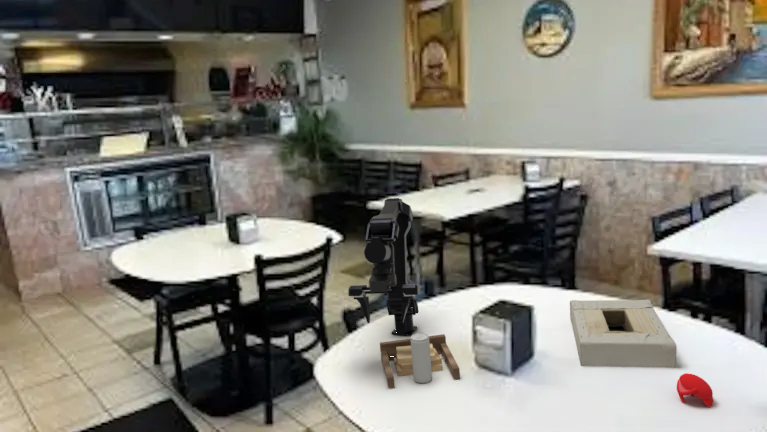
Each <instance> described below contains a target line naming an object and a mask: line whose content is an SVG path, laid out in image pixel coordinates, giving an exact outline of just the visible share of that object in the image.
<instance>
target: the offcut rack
mask: <svg viewBox="0 0 767 432" xmlns="http://www.w3.org/2000/svg"><path fill="white" fill-rule="evenodd" d="M428 337H429V343H430V344H432V345H433V348H435V350H436V351H437V353H438V354H439V355H441V356H442V359H443V360H444V362H445V364H446V366H447V369H448V370H449V372H450V375H451V376H452V379H453V380H454V381H455V380H460V379H461V372H460V367H459V365H458V363H457V361H456V359H455V357H454V355H453V353H452V352H451V350H450V348H449V346H448V344H447V341H446V334H444V333H443V334H436V335H428ZM410 340H411V338H404V339H397V340H389V341H383V342H379V349H380V359H381V364H382V368H383V372H384V375H385V380H386V384H387V388H388V389H395V388H396V387H395V386H396V384H395V377H394V373H393V369H392V366H391V363H390V361H394V358H396V354H397V351H396V347H400V346H411V341H410ZM390 356H394V357H390Z"/></svg>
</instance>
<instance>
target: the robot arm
mask: <svg viewBox="0 0 767 432" xmlns="http://www.w3.org/2000/svg"><path fill="white" fill-rule="evenodd" d="M413 218H414V217H413V210H412V208H411V205H410V204H408V203H406V202H404V201H403V199H402V198H399V197H393V198H386V199H384V203H383V207H382V208H381V211H380V213H379V214H378V215H374V216H373V217H371V219H370V220H369V222H368V223H367V227H366V234H365V243H368V244H367V245H366V246H365V248H364V251H363V254H364V258H365V259H366V261H368V262H369V263H371V264H373V265H372V274H371V276H370V277H369V279H368V281H369V282H368V284H369V286H367V285H366V284H357V285H355V284H354V285H350V286H349V287H348V293H347V294H348V297H353V300H357V302H358V304H359V305H360V307H361V308H362V311H363V314H364V317H365V320H366V322H367V324H370V323H371V311H370V298H369V296H367V295H369V294H371V295H373V294H375V295H376V294H378V295H379V294H387V295H388V296H387V297H386V307H387V313H388V316H394V329H393V330H392V332H391V335H395V336H396V335H398V336H409V337H411V336H412V335H413V334H415V331H416V330H417V329H418V326H416V325H414V319H413V316H416V314H418V313H419V305H418V301H417V299H416V297H417V296H418V295H421V285H420V284H419V283H408V258H407V257H408V255H407V253H408V252H407V235H408V233H409V231H410V229H411V228H412V222H413V220H414V219H413ZM416 295H417V296H416ZM395 329H396V330H395ZM396 332H397V333H396Z"/></svg>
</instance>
